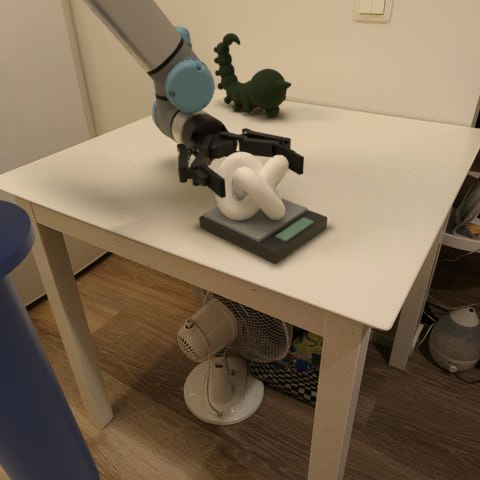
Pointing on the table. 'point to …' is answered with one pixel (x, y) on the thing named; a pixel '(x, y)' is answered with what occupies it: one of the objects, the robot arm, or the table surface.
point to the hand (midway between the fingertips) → (263, 177)
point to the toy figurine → (249, 83)
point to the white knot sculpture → (251, 186)
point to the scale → (266, 230)
